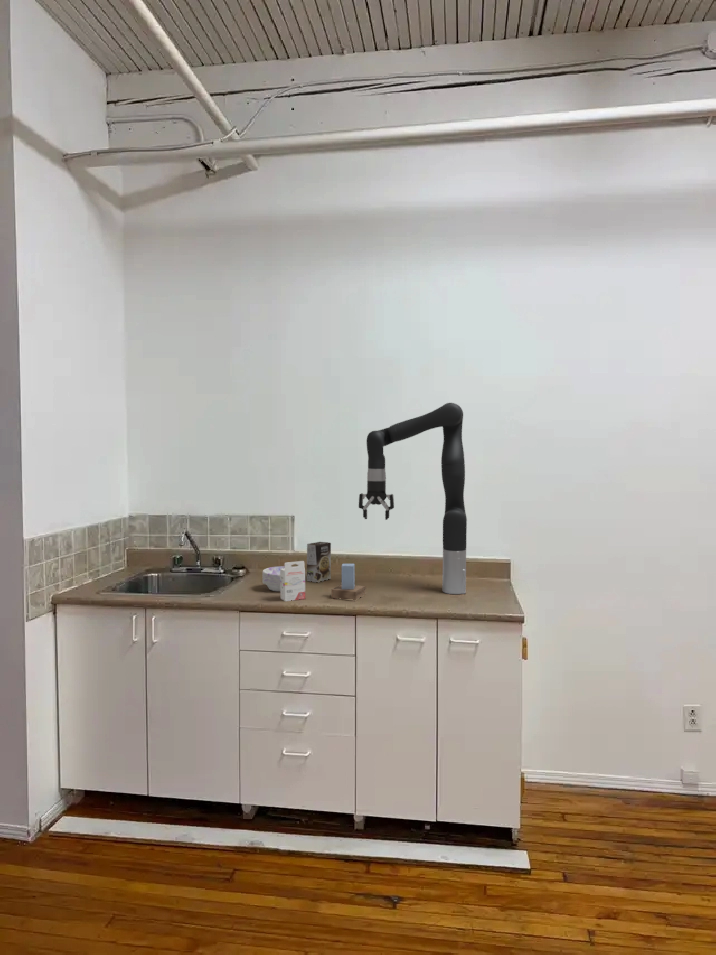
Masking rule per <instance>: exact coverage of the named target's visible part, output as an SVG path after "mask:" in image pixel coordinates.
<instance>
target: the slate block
mask: <svg viewBox="0 0 716 955" xmlns="http://www.w3.org/2000/svg"><path fill="white" fill-rule="evenodd" d="M355 579H356V577H355V563H342V564H341V584H342V589H354V587H355V585H356V584H355V583H356V582H355V581H356V580H355Z"/></svg>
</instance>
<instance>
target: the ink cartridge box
mask: <svg viewBox="0 0 716 955" xmlns="http://www.w3.org/2000/svg"><path fill="white" fill-rule="evenodd" d="M294 565H295V566H294ZM296 565H297V566H296ZM284 566H285V568H284V569H280V591H279V592H280V595H279V596H280V600H282V601H284V602H291V600H292V601H299V599H300V600H306V569H305V561H304V560H298V561H290V562H287V561H286V562H284Z"/></svg>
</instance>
